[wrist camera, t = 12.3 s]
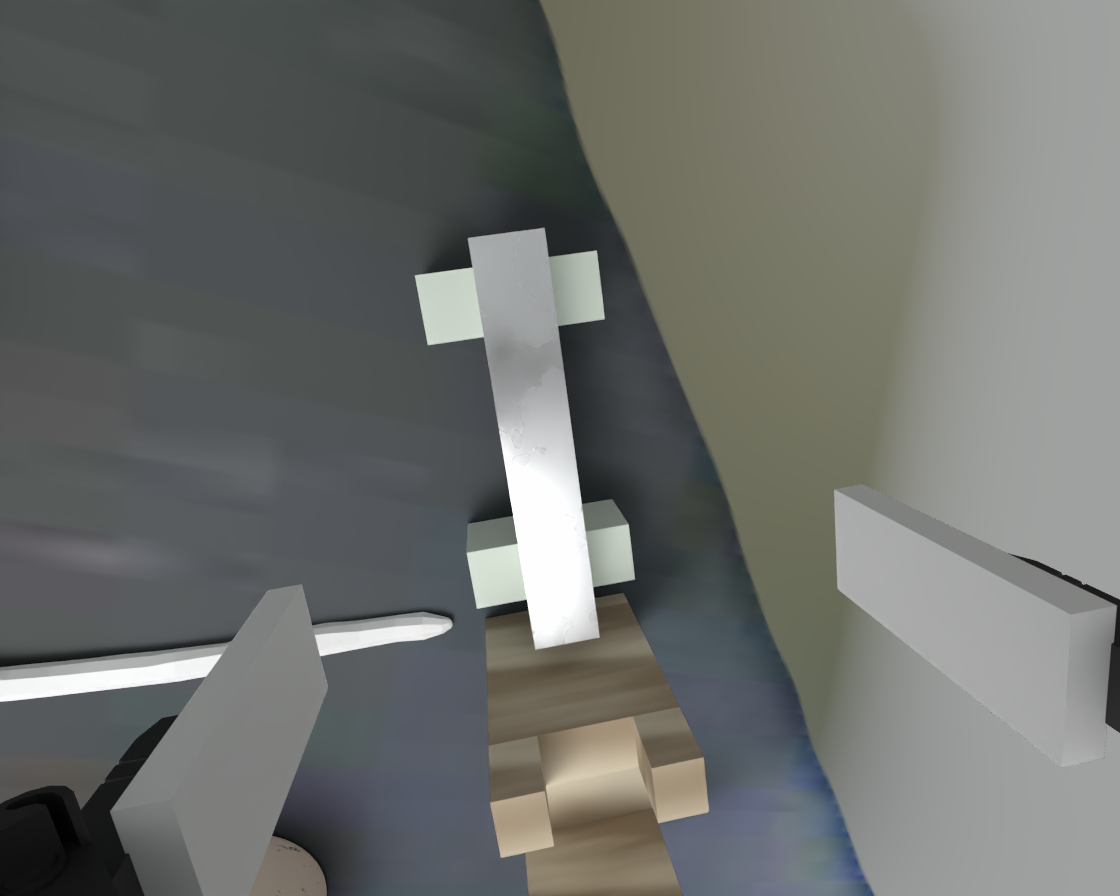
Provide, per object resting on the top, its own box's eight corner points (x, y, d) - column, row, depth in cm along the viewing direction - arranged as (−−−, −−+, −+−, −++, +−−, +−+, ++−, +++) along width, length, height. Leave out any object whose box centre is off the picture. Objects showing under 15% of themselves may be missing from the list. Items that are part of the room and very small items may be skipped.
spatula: (445, 566, 36) (443, 589, 33) (455, 632, 37) (453, 660, 34) (-106, 640, 33) (-159, 672, 30) (-79, 708, 34) (-128, 746, 31)
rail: (588, 606, 32) (599, 637, 29) (529, 617, 32) (535, 649, 29) (537, 234, 28) (544, 227, 25) (468, 243, 28) (467, 238, 25)
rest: (618, 548, 36) (635, 579, 32) (476, 574, 35) (476, 608, 32) (582, 255, 32) (596, 250, 28) (422, 277, 31) (415, 275, 28)
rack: (651, 825, 41) (733, 1073, 28) (528, 852, 40) (552, 1120, 27) (623, 592, 37) (703, 757, 24) (485, 618, 36) (490, 802, 23)
